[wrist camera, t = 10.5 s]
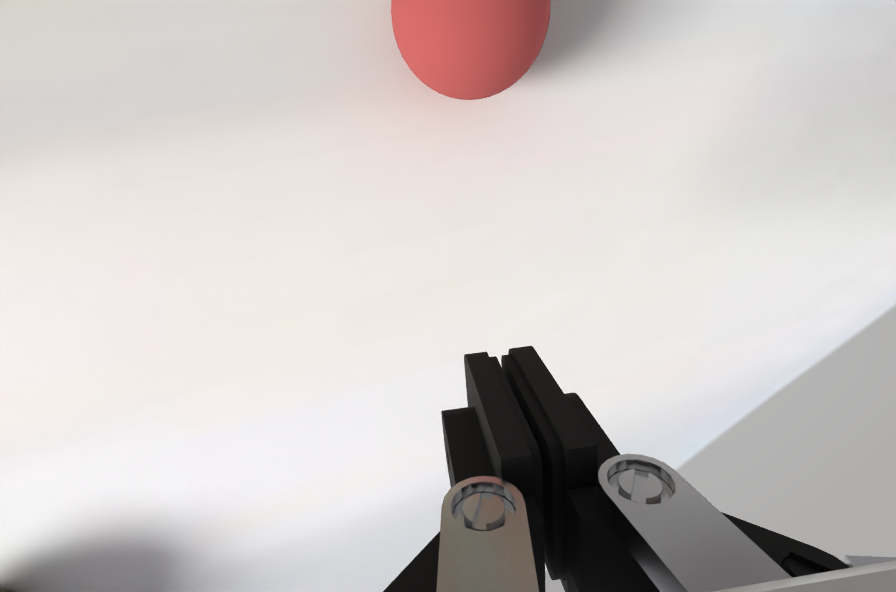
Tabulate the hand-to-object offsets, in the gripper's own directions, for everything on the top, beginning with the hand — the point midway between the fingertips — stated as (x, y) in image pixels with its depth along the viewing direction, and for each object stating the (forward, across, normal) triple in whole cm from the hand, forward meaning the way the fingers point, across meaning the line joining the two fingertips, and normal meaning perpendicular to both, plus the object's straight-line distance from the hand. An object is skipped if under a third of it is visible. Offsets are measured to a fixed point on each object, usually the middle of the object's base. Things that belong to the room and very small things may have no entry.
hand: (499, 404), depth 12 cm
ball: (+10, -2, -10) cm, 15 cm away
